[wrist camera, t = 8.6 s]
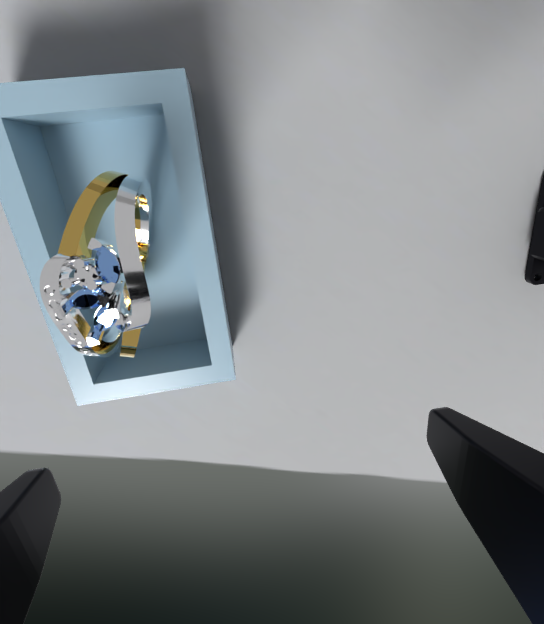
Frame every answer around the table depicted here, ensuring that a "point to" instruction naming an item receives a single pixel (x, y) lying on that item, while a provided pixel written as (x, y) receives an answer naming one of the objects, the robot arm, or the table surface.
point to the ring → (103, 268)
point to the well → (164, 226)
